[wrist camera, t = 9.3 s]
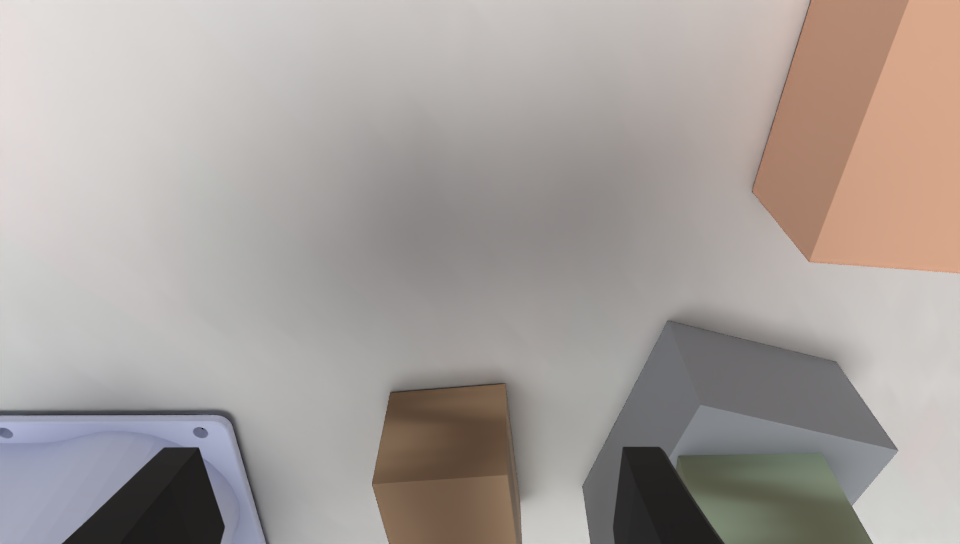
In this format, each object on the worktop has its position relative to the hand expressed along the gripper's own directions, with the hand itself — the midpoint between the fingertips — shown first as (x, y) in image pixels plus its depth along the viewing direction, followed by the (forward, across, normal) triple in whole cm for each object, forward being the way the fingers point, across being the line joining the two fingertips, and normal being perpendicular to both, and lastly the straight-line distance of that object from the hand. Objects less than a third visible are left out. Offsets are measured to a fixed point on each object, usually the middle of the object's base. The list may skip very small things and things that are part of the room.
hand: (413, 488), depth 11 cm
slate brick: (+10, -9, +8) cm, 15 cm away
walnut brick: (+10, 0, +9) cm, 13 cm away
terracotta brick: (+10, -11, -4) cm, 15 cm away
